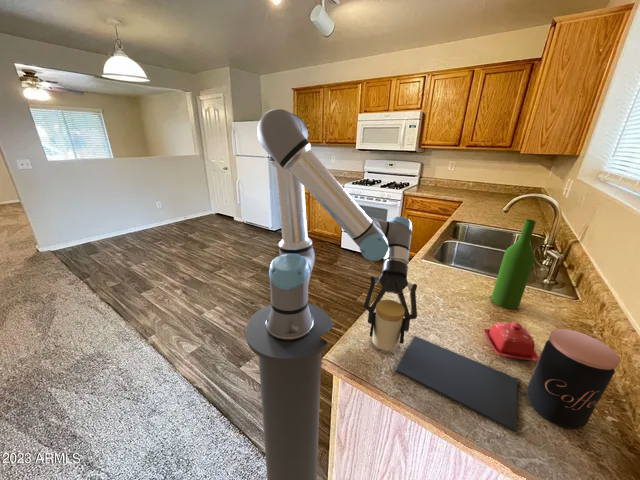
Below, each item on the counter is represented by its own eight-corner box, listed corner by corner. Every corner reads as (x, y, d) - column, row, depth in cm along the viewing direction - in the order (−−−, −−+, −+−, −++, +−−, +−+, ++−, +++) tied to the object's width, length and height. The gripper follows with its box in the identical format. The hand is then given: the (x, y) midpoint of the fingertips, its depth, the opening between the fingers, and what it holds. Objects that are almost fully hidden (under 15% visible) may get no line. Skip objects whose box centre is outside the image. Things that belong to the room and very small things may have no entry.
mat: (395, 371, 69) (396, 369, 69) (414, 337, 81) (414, 335, 81) (516, 432, 55) (516, 430, 55) (516, 380, 67) (517, 378, 67)
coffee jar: (527, 414, 59) (554, 351, 53) (522, 380, 67) (546, 322, 61) (591, 442, 54) (630, 375, 47) (578, 401, 62) (609, 340, 56)
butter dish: (541, 365, 72) (552, 340, 69) (496, 358, 74) (504, 334, 71) (520, 336, 83) (528, 314, 80) (480, 331, 85) (487, 309, 82)
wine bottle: (524, 307, 98) (554, 223, 87) (505, 310, 96) (533, 225, 85) (503, 294, 106) (528, 216, 95) (485, 297, 104) (508, 217, 93)
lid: (370, 313, 74) (371, 308, 73) (382, 301, 80) (382, 296, 79) (398, 325, 69) (399, 320, 69) (407, 311, 75) (408, 306, 75)
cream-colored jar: (367, 342, 77) (372, 310, 73) (378, 329, 83) (382, 298, 79) (392, 355, 73) (398, 321, 69) (401, 339, 79) (408, 307, 75)
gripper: (428, 272, 83) (422, 349, 75) (363, 262, 88) (350, 332, 80) (432, 264, 77) (427, 347, 68) (362, 254, 82) (348, 329, 73)
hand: (386, 339), depth 74 cm, fingers closed on cream-colored jar, 8 cm apart
